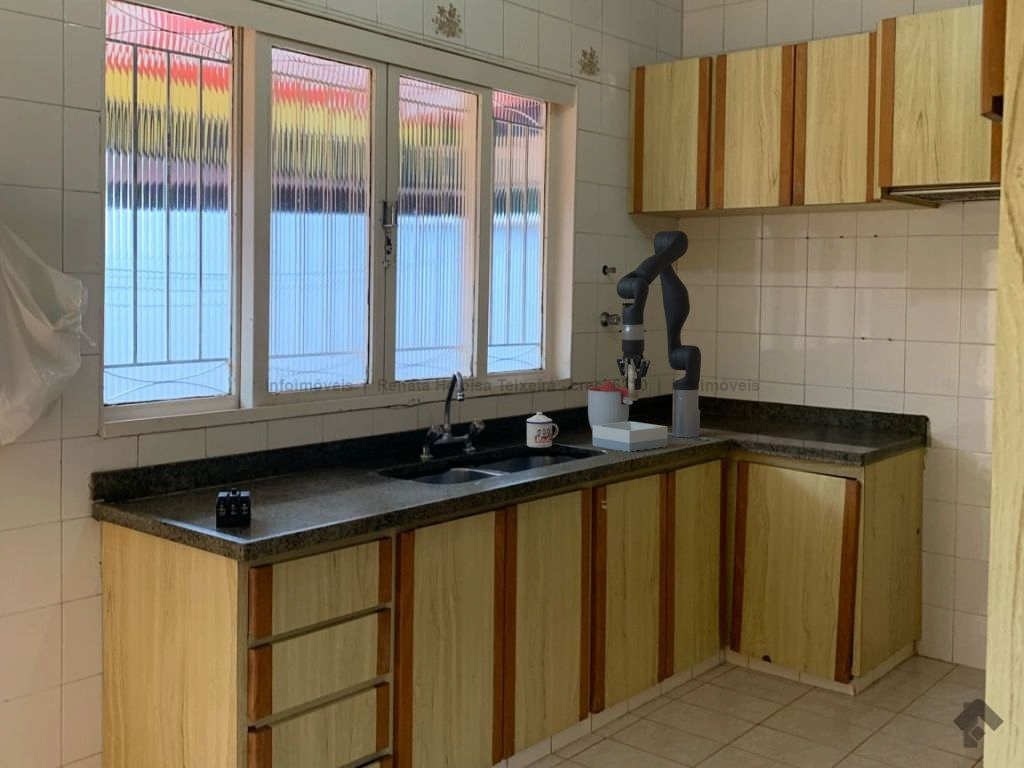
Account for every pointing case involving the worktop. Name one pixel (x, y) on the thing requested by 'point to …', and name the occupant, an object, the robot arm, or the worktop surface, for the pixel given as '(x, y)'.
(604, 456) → the worktop surface
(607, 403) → the citrus juicer
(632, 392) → the peg
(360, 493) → the worktop surface
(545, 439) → the teacup with lid
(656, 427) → the box
